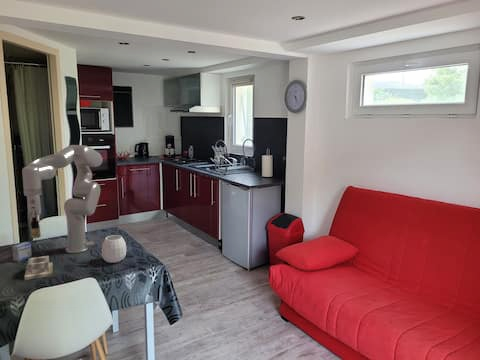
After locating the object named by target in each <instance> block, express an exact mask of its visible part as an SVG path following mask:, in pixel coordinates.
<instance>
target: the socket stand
mask: <svg viewBox="0 0 480 360" xmlns="http://www.w3.org/2000/svg"><path fill="white" fill-rule="evenodd" d="M53 264H54V263H53V262H52V261H51V262H50V257H49V255H44V256H38V257H36V256H35V257H30V258H28V260H27V265H26V269H25V273H24V280H25V281H28V280H35V279H42V278H46V277H52V276H53V268H54V267H53V266H54V265H53Z"/></svg>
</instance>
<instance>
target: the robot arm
mask: <svg viewBox="0 0 480 360" xmlns="http://www.w3.org/2000/svg"><path fill="white" fill-rule="evenodd" d="M73 162H74V164H75V167H76V170H77V172H76V173H77V174H76V177H75V180H74V183H73V186H72V191H71V192H72V194H73V196H74V197H71V198H70V197H69V198H68V199H67V200H65V202H64V203H63V210H64V213H65V218H66V226H67V227H66V228H67V242H68V246H67V247H66V248H65V252H66V253H68V254H80V253H83V252H87V251H88V250H89V248H90V246H95V242H94V241H87V239H86V224H85V218H84V216H88V217H89V216H92V215H94V213H95V211H96V209H97V206H98V203H99V199H100V195H101V187H100V186H101V185H100V184H98V182H95V181H93V182H92V179H93V172H92V170H91V169H90V167H95V168H97V167H99V166H101V165H102V163H103V156H102V154H101V153H99V152H98V151H97V150H95V149H93V148H92V147H90V146H88V145H82V144H81V145H80V144H71V145H67V146H66V147H64V148H62V149H61V150H60V151H58V152H56V153H54V154H49V155H46V156H42V157H40V158H37V159H34V160H33V161H32V162H30V163H28V164H27V165H26V166H25V167H23V168H22V170H21V172H22V173H21V174H22V185H23V186H22V187H23V194H24V195H23V196H25V197H26V201H27V209H28V210H27V211H28V214H29V217H30V216H31V224H30V230H31V229H38V228H39V222H38V216H37V214H39V216H40V215H41V214H42V207H41V206H42V205H41V198H40V195H42V194H43V193H42V192H43V191H42V181H45V180H51V179H53V178H54V177H55V176H56V174H57V169H63V168H65V167H67V166H69V165H70V164H71V163H73ZM35 214H36V215H35ZM35 216H36V217H35Z"/></svg>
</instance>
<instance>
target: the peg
mask: <svg viewBox="0 0 480 360" xmlns="http://www.w3.org/2000/svg"><path fill="white" fill-rule="evenodd" d="M35 215H36V214H35ZM37 216H38V222H39V228H38V229H31V228H30V234H31V238H32V239H38V238H40V237H41V236H42V235H41V234H42V233H41V226H40V225H41V224H40V215H39V214H37ZM35 217H36V216H35ZM29 221H30V222H29V223H30V225H31V216H30V215H29Z"/></svg>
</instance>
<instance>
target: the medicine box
mask: <svg viewBox="0 0 480 360" xmlns="http://www.w3.org/2000/svg"><path fill="white" fill-rule="evenodd" d="M11 248H12V249H11V250H12V256H13V257H12V258H13V261H14V262H18V263H20V262H22V261H25V260H27V259H28V260H29V258H33V257H32V255H33V254H32V245H31V242H29V241H23V242H21V243H18V244H15V245H12V246H11Z"/></svg>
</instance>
